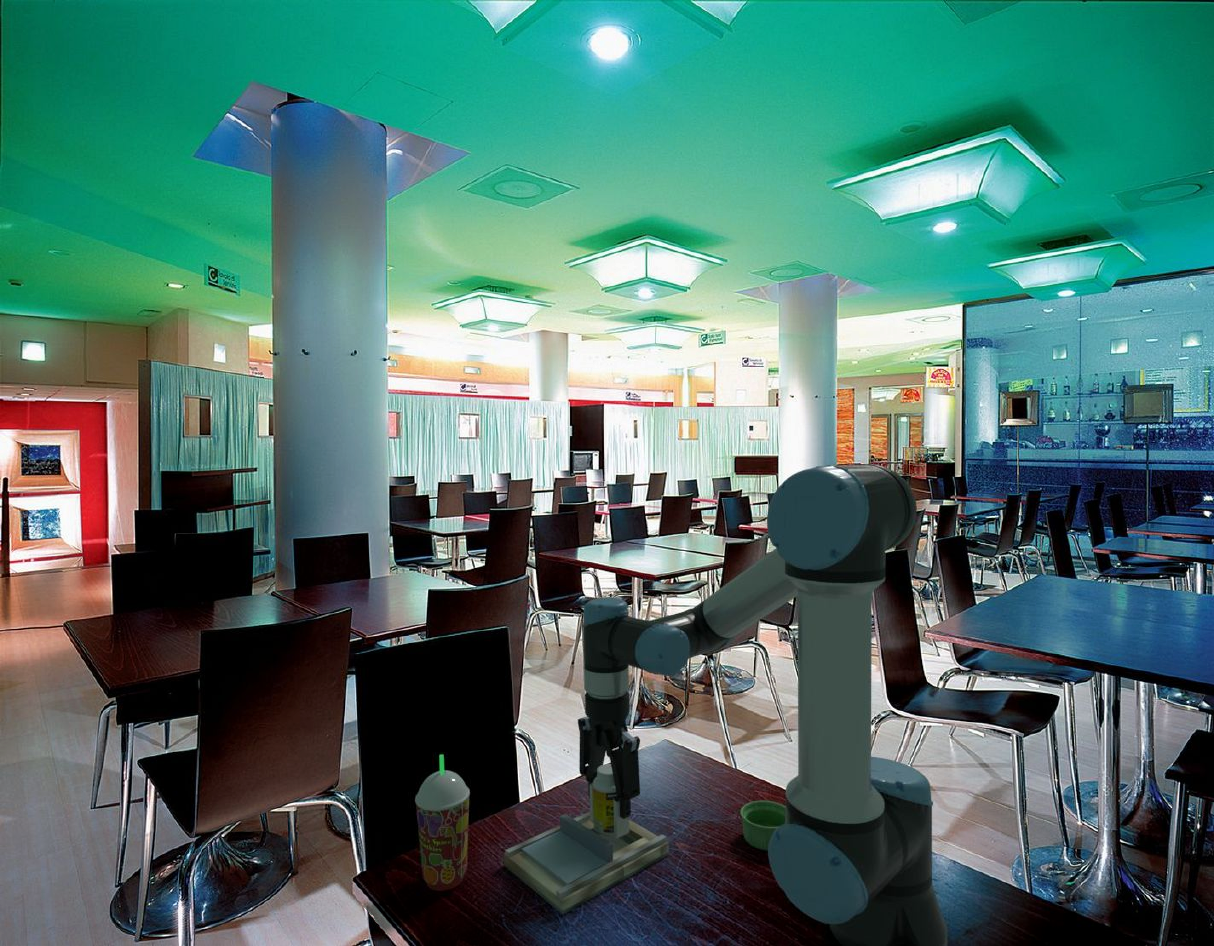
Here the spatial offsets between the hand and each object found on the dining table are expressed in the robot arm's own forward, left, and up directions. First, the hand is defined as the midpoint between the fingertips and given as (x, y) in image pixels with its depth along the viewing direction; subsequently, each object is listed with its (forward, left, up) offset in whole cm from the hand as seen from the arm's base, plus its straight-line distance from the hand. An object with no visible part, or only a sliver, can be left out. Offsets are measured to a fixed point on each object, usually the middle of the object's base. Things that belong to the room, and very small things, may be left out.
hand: (609, 826), depth 116 cm
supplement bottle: (0, 0, -1) cm, 1 cm away
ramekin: (-16, -22, -4) cm, 28 cm away
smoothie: (+11, +25, -4) cm, 28 cm away
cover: (0, +9, -2) cm, 9 cm away
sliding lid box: (0, +5, -4) cm, 6 cm away
